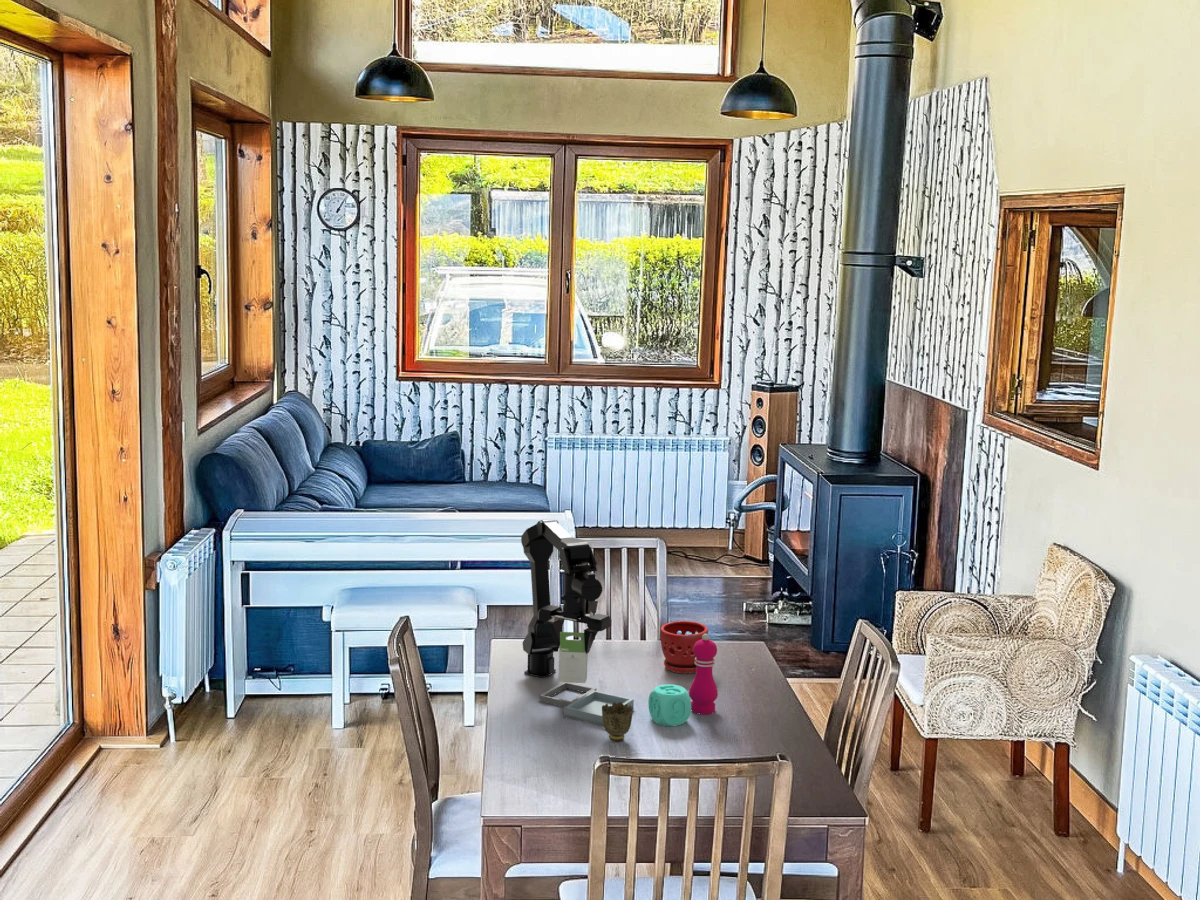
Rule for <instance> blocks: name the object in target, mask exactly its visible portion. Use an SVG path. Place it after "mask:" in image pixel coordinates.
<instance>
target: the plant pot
mask: <svg viewBox="0 0 1200 900" xmlns="http://www.w3.org/2000/svg"><path fill="white" fill-rule="evenodd" d="M678 632H680V633H681V634H678ZM687 632H689V633H691V634H687ZM696 632H697V633H696ZM703 634H708V635H709V628H708V627H707V626H706V625H705V624H703V623H701V622H695V621H689V620H688V621H687V620H680V621H671V622H668V623H665V624H663V625H662V626H660V633H659V635H660V646H661V651H662V654H663V656H664V660H663V665H664V667H665V668H666V669H667V670H669V671H670V672H673V673H678V674H686V673H687V674H686V675H688V674H693V673H696V664H695V658H696V656H695V655H694V653H693V647H694V644H695V643H696V642H697V641H698V640H701V639H702V636H703Z"/></svg>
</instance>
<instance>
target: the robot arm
mask: <svg viewBox="0 0 1200 900" xmlns="http://www.w3.org/2000/svg"><path fill="white" fill-rule="evenodd" d="M520 541H521V546H522V548H523V553H524V555H525V557H526V559H528V561H529V562H530V563H529V564H530V578H531V579H530V580H531V590H532V591H531V594H532V598H531V599H532V613H533V616H532V618H531V620H530V622H529V624H528V626H527V634H526V636H525V638H524V640H523V641H522V650H523V652H525V653H526V654H527V670H525V671H524V675H529V676H533V677H539V678H542V677H545V678H547V677H548V676H550V675H552V674H554V673H556V672H557V670H556V669H555V657H554V653H557V652H558V653H559V647H560V632H563V626H564V622H565V621H570V622H576V623H581V624H586V627H587V628H585V629H584V630H583V633H584V642H585V652H586V654H590V651H591V648H592V646H593V643H594V640H595V639H596V636H597V635H598V633H599V632H603V631H605V630H607V629H609V628H611V627H612V619H611V617H610V615H608V614H601V613H597V609H598V604H599V603H598V602H599V601H598V599H599V598H600V597H601V595H602V593H603V586H602V583H601V581H599V579H598V578H596V573H594V572H597V571H598V568H597V565H598V564H597V560H596V557H595V555H594V551H593V550H592V547H591V545H590V544H589V543H588V542H587V541H586V540H584V539H580V538H575V537H573V536H571V534H570V533H569V532H568V531H567V530H565V529H564V527H563V526H562V525H560V524H559V521H558V519H555V518H549V519H541V520H538V521H537V523H535V524H534V525H532V526H530V527H528V528H526V529H525V531H524V532H523V533H522V535H521V539H520ZM554 548H555V549H556V550H557V551H558V552H559V553H558V558H559V560H560V562H561V564H562V567H561V570H563V594H562V595H561V596H560V601H563V603H562V604H563V608H562V607H561V606H558V605H552V604H551V603H552V602H551V592H550V591H551V590H550V573H549V560H550V558H551V557H552V555H553V552H554ZM591 613H592V614H594V615H591V616H588V615H590V614H591ZM555 671H556V672H555ZM551 673H552V674H551ZM546 676H547V677H546Z"/></svg>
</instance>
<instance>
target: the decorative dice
mask: <svg viewBox="0 0 1200 900" xmlns="http://www.w3.org/2000/svg"><path fill="white" fill-rule="evenodd" d="M691 702H692V699H691V698H690V696H689V691H687V689H686V688H685V687H684V686H682V685H677V684H670V683H669V684H661V685H657V686H656V687H654V688H653V689H652V691H651V692H650V693H649V696H648V711H649V714H650V718H651V719H652V721H653V722H654V723H655V722H656V723H655V724H657V725H659V724H660V726H663V725H665V726H664V727H677V726H676V725H679V726H681V724H682V725H684V724H685V723H687V721H688V719H689V718H690V717H691V713H692V711H691ZM674 725H675V726H674Z"/></svg>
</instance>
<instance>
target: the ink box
mask: <svg viewBox="0 0 1200 900" xmlns="http://www.w3.org/2000/svg"><path fill="white" fill-rule="evenodd" d="M568 637H577V638H580V639H567V638H568ZM588 654H589V653H588ZM588 654H586V652H585V642H584V632H574V631H573V632H572V631H562V632H560V647H559V649H558V658H559V659H558V682H559V683H563V682H570V683H574V684H586V682H587V679H588V660H589V659H588V656H589V655H588Z"/></svg>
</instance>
